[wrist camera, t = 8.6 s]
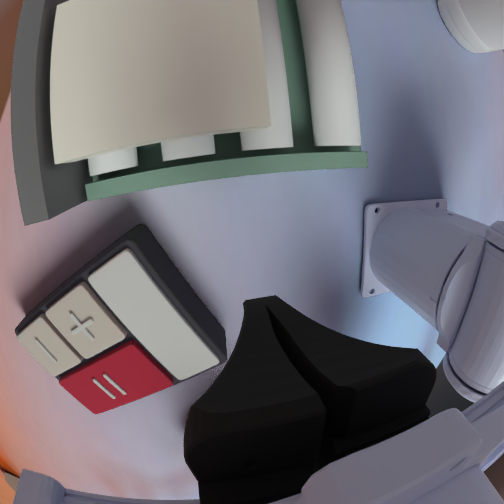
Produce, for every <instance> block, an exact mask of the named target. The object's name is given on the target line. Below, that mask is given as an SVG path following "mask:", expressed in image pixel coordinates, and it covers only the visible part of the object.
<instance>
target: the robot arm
mask: <svg viewBox="0 0 504 504" xmlns="http://www.w3.org/2000/svg"><path fill="white" fill-rule="evenodd" d="M436 203H437V205H436ZM376 208H377V212H376V213H375V209H376ZM371 289H372V291H371V292H370V290H371ZM387 292H392V293H394V294H395V295H396V296H397V297H399V298H400V299H401V300H402V301H403V302H405V303H406V304H407V305H408V306H409V307H410V308H412V309H413V310H414V311H415V312H416V313H418V314H419V315H420V316H421V317H422V318H423V319H425V320H426V321H427V322H428V323H429V324H430V325H432V326H433V327H434V328H435V329H436V330H437V331H438V332H439V336H438V340H437V344H438V345H439V346H440V347H441V348H442V349H443V350H444V351H445V352H446V354H445V357H444V360H443V368H444V372H445V375H446V377H447V378H448V380H449V382H450V383H451V384H452V386H453V387H454V389H455V390H456V391H457V392H458V393H459V394H461V395H462V396H463V397H465V398H466V399H468V400H470V401H472V402H475V403H474V404H473V405H472V406H470V407H469V408H467V409H466V410H464V411H463V412H460V411H459V410H458V409H456V408H452V409H448V410H446V411H444V412H441V413H439V414H437V415H435V416H433V417H432V418H430V419H429V418H428V416H429V415H430V410H429V409H428V408H427V406H426V405H425V403H426V402H427V400H428V397H429V395H430V393H431V391H432V388H433V386H434V383H435V380H436V368H435V367H434V365H433V364H432V363H431V362H430V361H429V360H428V359H427V358H426V357H425V356H424V355H423V354H422V353H421V352H420V351H419V350H418V349H413V348H401V347H391V346H385V345H379V344H374V343H370V342H366V341H362V340H359V339H355V338H352V337H349V336H346V335H343V334H341V333H338V332H336V331H334V330H331V329H329V328H327V327H325V326H323V325H321V324H319V323H317V322H315V321H313V320H311V319H310V318H308V317H306V316H305V315H303V314H302V313H300V312H299V311H297V310H296V309H294V308H293V307H291V306H290V305H288V304H287V303H286V302H284V301H283V300H282V299H280V298H279V297H277V296H276V295H274V296H268V297H262V298H256V299H250V300H245V302H244V303H243V306H244V317H243V322H242V327H241V331H240V334H239V337H238V340H237V343H236V345H235V348H234V350H233V352H232V354H231V356H230V358H229V360H228V362H227V364H226V365H225V367H224V369H223V370H222V372H221V373H220V375H219V376H218V377H217V379H216V380H215V381H214V383H213V384H212V385H211V386H210V388H209V389H208V390H207V391H206V392H205V393H204V394H203V395H202V396H201V397H200V398H199V399H198V400H197V401H196V402H195V403H194V404H193V405H192V406H191V408H190V411H189V415H188V418H187V422H186V427H185V433H184V458H185V461H186V464H187V465H188V467H189V468H190V470H191V472H192V473H193V475H194V476H195V478H196V479H197V481H198V486H199V497H200V499H195V500H148V499H132V498H121V497H112V496H105V495H98V494H92V493H86V492H80V491H75V490H71V489H66V488H64V486H63V485H62V484H61V483H59V482H58V481H57V480H55V479H54V478H52V477H50V476H47V475H45V474H41V473H37V472H34V471H30V470H27V469H22V473H21V476H20V479H19V483H18V487H17V490H16V494H15V498H14V502H13V504H504V501H503V499H502V498H501V497H500V495H499V494H498V492H497V491H496V489H495V488H494V487H493V485H492V484H491V483H490V481H489V480H488V478H487V477H486V476H485V474H484V473H483V471H485V470H486V469H487V468H488V467H489V466H490V465H491V464H492V463H493V462H495V461H496V460H497V459H498V458H499V457H500V456H501V455H502V454H503V453H504V222H503V221H496V222H495V223H493V224H492V225H491V226H487V225H485V224H482V223H480V222H477V221H475V220H472V219H469V218H467V217H464V216H461V215H458V214H456V213H453V212H450V211H447V200H446V199H427V200H413V201H400V202H387V203H375V204H368V205H367V206H366V207H365V211H364V248H363V267H362V281H361V295H362V296H363V297H365V298H367V297H371V296H375V295H379V294H383V293H387Z"/></svg>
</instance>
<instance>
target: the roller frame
mask: <svg viewBox="0 0 504 504" xmlns="http://www.w3.org/2000/svg"><path fill="white" fill-rule="evenodd" d="M66 1H69V0H24V1H23V5H22V9H21V14H20V18H19V23H18V29H17V35H16V42H15V48H14V58H13V67H12V81H11V134H12V149H13V159H14V168H15V176H16V183H17V189H18V195H19V201H20V206H21V211H22V216H23V221H24V225H25V226H26V225H30V224H34V223H37V222H41V221H45V220H49V219H51V218H53V217H55V216H57V215H59V214H61V213H63V212H65V211H66V210H68V209H70V208H72V207H75V206H77V205H79V204H81V203H83V202H85V201H87V200H88V201H92V200H97V199H101V198H106V197H111V196H116V195H121V194H126V193H131V192H136V191H142V190H147V189H153V188H159V187H165V186H171V185H177V184H184V183H191V182H197V181H205V180H212V179H220V178H228V177H237V176H246V175H255V174H265V173H276V172H288V171H302V170H317V169H336V168H365V167H368V160H367V152H361V134H360V121H359V110H358V100H357V91H356V83H355V75H354V68H353V61H352V55H351V49H350V43H349V38H348V32H347V27H346V22H345V18H344V13H343V8H342V4H341V0H257V3H258V11H259V18H260V26H261V34H262V42H263V51H264V59H265V68H266V77H267V87H268V96H269V106H270V116H271V127H268V128H265V129H263V130H257V131H244V132H233V133H223V134H214V135H206V136H198V137H191V138H184V139H178V140H171V141H165V142H160V143H154V144H149V145H143V146H138V147H133V148H129V149H124V150H120V151H115V152H111V153H107V154H102V155H98V156H94V157H91V158H87V159H83V160H79V161H76V162H69V163H61V164H55V162H54V153H53V143H52V131H51V113H50V67H51V50H52V39H53V30H54V22H55V15H56V9H57V5H59V4H62V3H64V2H66Z"/></svg>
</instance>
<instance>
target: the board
mask: <svg viewBox="0 0 504 504" xmlns="http://www.w3.org/2000/svg"><path fill="white" fill-rule="evenodd" d="M50 113H51V131H52V143H53V153H54V162H55V164H61V163H69V162H76V161H79V160H83V159H87V158H91V157H94V156H98V155H102V154H107V153H111V152H115V151H120V150H124V149H129V148H133V147H138V146H143V145H149V144H154V143H160V142H165V141H171V140H178V139H184V138H191V137H198V136H206V135H214V134H223V133H233V132H244V131H257V130H263V129H265V128H268V127H271V116H270V106H269V96H268V87H267V77H266V68H265V59H264V51H263V42H262V34H261V26H260V18H259V11H258V3H257V0H69V1H66V2H64V3H62V4H59V5H57V9H56V15H55V22H54V30H53V39H52V50H51V67H50Z"/></svg>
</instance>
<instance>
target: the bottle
mask: <svg viewBox="0 0 504 504" xmlns="http://www.w3.org/2000/svg"><path fill="white" fill-rule="evenodd" d="M438 8H439V12H440V15H441V17H442V19H443V21H444V23H445V25H446V27H447V28H448V30H449V32H450V33H451V35H452V36H453V37H454V38H455V39H456V41H457V42H458V43H459V44H460V45H461V46H463V47H464V48H465V49H466V50H467V51H469V52H472V53H481V52H482V53H487V52H493V51H496V50H502V49H504V0H438Z"/></svg>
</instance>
